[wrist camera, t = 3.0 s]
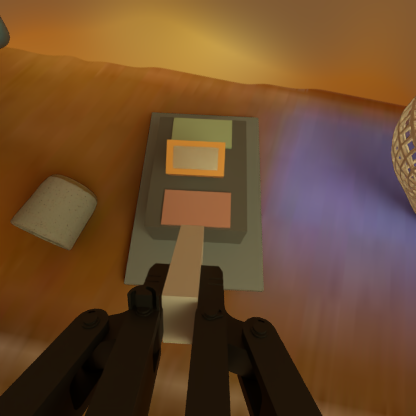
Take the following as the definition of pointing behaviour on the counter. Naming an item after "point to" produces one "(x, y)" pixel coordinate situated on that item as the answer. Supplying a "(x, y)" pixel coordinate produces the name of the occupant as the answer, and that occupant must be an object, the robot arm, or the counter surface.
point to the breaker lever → (195, 158)
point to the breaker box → (201, 201)
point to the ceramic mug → (57, 211)
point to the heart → (406, 152)
